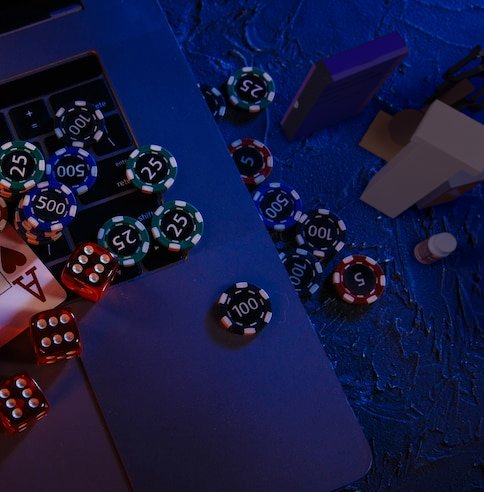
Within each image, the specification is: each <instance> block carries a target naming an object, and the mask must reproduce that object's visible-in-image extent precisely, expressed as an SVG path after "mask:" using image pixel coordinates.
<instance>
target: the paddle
mask: <svg viewBox="0 0 484 492" xmlns="http://www.w3.org/2000/svg"><path fill="white" fill-rule="evenodd" d="M476 90H477V88H476V87H475V86H474V85H473V84H472V82H471V81H470V80H468V79H467V78H465V79H464V80H462V81H461V82H459V83H458V84H456V85H455V86H454V87H452V88H451V89H449V90H448V91H446V92H445V93H444V94H442V95H441V96H439V97H438V98H436V99H437V100H439V101H441V102H443V103H444V104H446V105H448V106H450V105H452V104H453V103H455V102H457V101H458V100H460V99H462V98H463V97H466V98H467V97H468V96H470V95H471V94H474V93H475V91H476ZM436 99H435V100H436ZM435 100H434V101H435ZM434 101H432V102H431V103H429V104H428V105H426V106H423V107H422V108H421V109H420V110H418V109H416V108H405V109H401V110H400V111H398V112H396V113H395V114H394V115H393V116H392V118H391V120H390V122H389V127H388V131H389V135H390V137H391V139H392V140H393V141H394V142H395V143H397V144H399V145H402V146H406V145H408V144H409V143H410V142H411V140H410V139H411V138H412V136H413V134H414V133H415V131H416V129H417V128H418V126H419V124H420V123H421V121H422V119H423V117H424V116H425V114H426V112H427V111H428V109H429V107H430V106H431V104H432V103H433V102H434Z"/></svg>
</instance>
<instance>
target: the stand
mask: <svg viewBox="0 0 484 492" xmlns="http://www.w3.org/2000/svg"><path fill="white" fill-rule="evenodd" d="M410 140H411V142H410V143H409V144H408V145H406V146H405V147H404V148H403V149H402V150H401V151H400V152H399V153H398V154H397V155H396V156H395V157H394V158H392V159H391V160H390V161H389V162H387V163H386V164H385V165H384V166H383V167H382V168H380V169H379V170H378V171H377V172H376V173H375V174H374V175H373V176H372V177H371V179H370V180H369V182H368V183H367V185H366V187H365V189H364V190H363V192H362V193H361V195H360V197H359V200H361V201H362V202H364V203H366V204H367V205H368V206H371V207H372V208H374V209H376V210H378V211H379V212H381V213H382V214H384V215H385V216H388V217H389V218H391V219H395V218H396V217H398V216H399V215H400V214H402V213H404V212H405V211H406V210H407V209H409V208H410V207H412V206H413V205H414V204H416V202H417V201H419V200H420V199H421V198H423V197H424V196H426V195H427V194H428V193H430V192H431V191H433V190H434V189H435V188H437V187H438V186H440V185H441V184H442V183H444V182H445V181H447V180H448V179H449V178H451V177H452V176H454V175H455V174H456V173H458V172H459V171H461V170H464V171H465V172H467V173H469V174H471V175H472V176H474V177H476V176H477V175H479V174H480V173H482V172H483V170H484V124H483V123H481V122H479V121H477V120H475V119H474V118H472V117H469V116H468V115H466V114H464V113H462V111H461V112H459V111H457V110H455V109H454V108H452V107H450V106H448V105H446V104H444V103H443V102H441V101H439V100H437V99H436V100H435V101H434V102H433V103H432V104H431V106H430V107H429V109H428V111H427V112H426V114H425V116H424V117H423V119H422V121H421V123H420V124H419V126H418V128H417V129H416V131H415V133H414V134H413V136H412V138H411V139H410Z"/></svg>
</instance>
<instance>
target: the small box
mask: <svg viewBox="0 0 484 492" xmlns="http://www.w3.org/2000/svg"><path fill="white" fill-rule="evenodd" d="M483 182H484V170H483V172H482V173H480V174H479V175H477V176H476V177H474V176H472V175H471V174H469V173H467V172H465V171H464V170H461V171H459V172H458V173H456V174H455V175H454V176H452V177H451V178H449V179H448V180H447V181H445V182H444V183H442V184H441V185H440V186H438V187H437V188H435V189H434V190H433V191H431V192H430V193H428V194H427V195H426V196H424V197H423V198H421V199H420V200H419V201H417V202H416V203H415V204H416V207H417V210H423V209H426V208H429V207H434V206H437V205H441V204H445V203H450V202H453V201H455V200H456V199H457V198H459V197H461V196H462V195H464V194H466V193H467V192H469V191H471V190H472V189H473V188H475V187H477V186H479V185H480V184H482V183H483Z"/></svg>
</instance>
